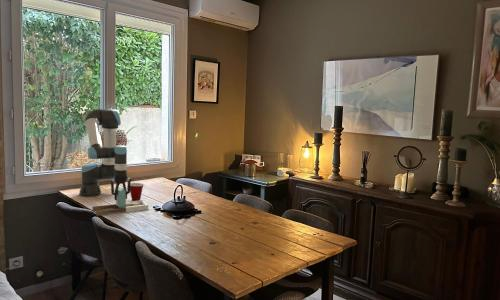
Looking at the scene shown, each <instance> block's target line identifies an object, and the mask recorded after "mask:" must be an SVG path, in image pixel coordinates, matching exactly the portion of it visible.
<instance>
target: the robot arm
mask: <svg viewBox="0 0 500 300" xmlns="http://www.w3.org/2000/svg"><path fill="white" fill-rule="evenodd" d="M120 114H121V113H120V111H119V110H118V109H112V108H109V109H107V108H105V109H103V108H101V109H100V108H95V109H92V110H90V111H89V112H88V113H87V114H86V115H85V117H84V122H83V123H84V126H85V127H86V129H87V131H86V132H87V136H88V137H87V138H88V142H89V147H88V148H87V157H88V159H90V160H99V159H100V160H101V159H103V160H102V161H101V162H100V163H101V164H99V163H98V162H91V163H86V164H85V163H84V164H83V165H82V166H81V171H80V172H81V186H80V189H79V196H80V197H87V198H88V197H97V196H100V195H102V189H101V187H100V184H99V181H104V180H105V181H107V180H108V181H109V182H110V190H111V191H110V192H111V195H112V196H113V197H114V200H115V204H116V205H118V195H117V192H118V188H120V185H122V188H124V189H125V190H126V200H128V194H131V193H130V183H132V178H130V177H128V175H127V173H128V170H127V167H128V165H127V164H128V163H127V160H128V159H127V158H128V157H127V153H128V150H127V146H126V145H120V144H119V145H116V144H117V130H118V129H119V126H121V123H122V122H121V120H122V119H121V115H120ZM99 126H101V128H102V130H103V143H102V138H101V137H102V136H101V133H100V127H99ZM126 181H127V186H126ZM115 182H116V183H115ZM114 183H115V184H114Z"/></svg>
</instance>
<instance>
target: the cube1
mask: <svg viewBox="0 0 500 300" xmlns="http://www.w3.org/2000/svg"><path fill="white" fill-rule="evenodd" d="M131 202H132V201H126V207H129V206H132V203H131Z"/></svg>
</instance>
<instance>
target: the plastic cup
mask: <svg viewBox="0 0 500 300" xmlns="http://www.w3.org/2000/svg"><path fill="white" fill-rule="evenodd" d="M144 186H145V184H144V183H140V182H130V193H129V194H130V197H131V202H132V201H141V198H142V193H143V187H144Z"/></svg>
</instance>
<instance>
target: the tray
mask: <svg viewBox="0 0 500 300" xmlns="http://www.w3.org/2000/svg"><path fill="white" fill-rule="evenodd" d="M130 202H131V203H132V202H138V203H139V205H138V206H129V207H124V208H126V212H125V213H129V212H130V213H131V212H137V211H145V210H149V204H148V203H147V202H145V200H141V199H140V200H139V201H132V200H131V201H130Z"/></svg>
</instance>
